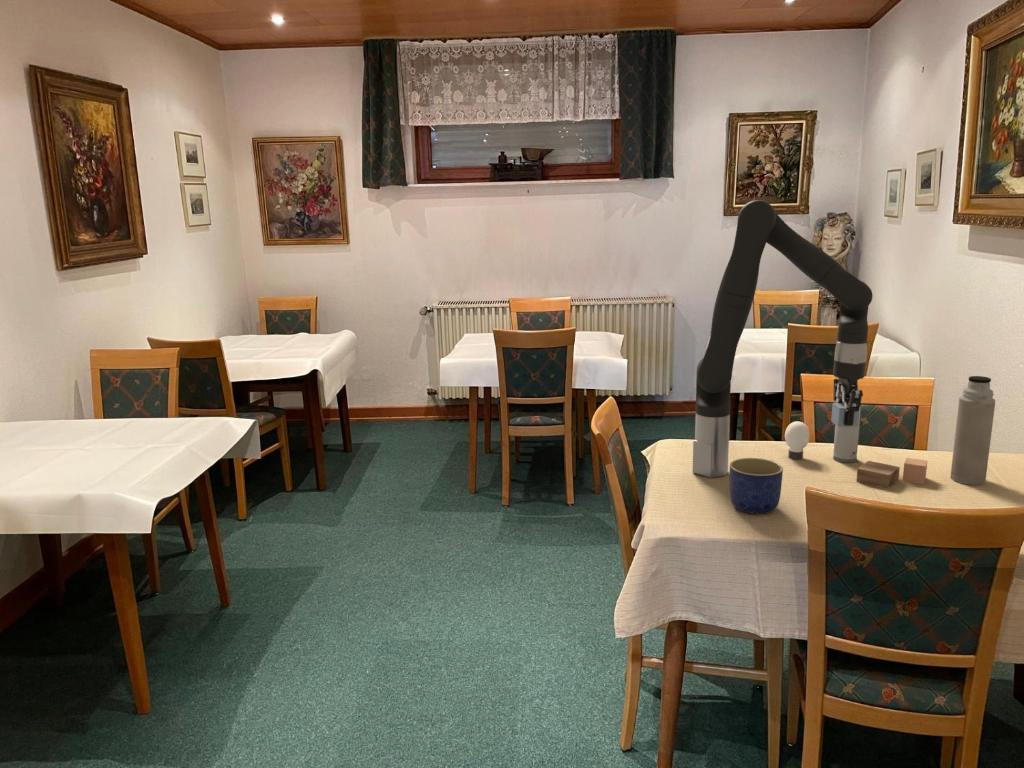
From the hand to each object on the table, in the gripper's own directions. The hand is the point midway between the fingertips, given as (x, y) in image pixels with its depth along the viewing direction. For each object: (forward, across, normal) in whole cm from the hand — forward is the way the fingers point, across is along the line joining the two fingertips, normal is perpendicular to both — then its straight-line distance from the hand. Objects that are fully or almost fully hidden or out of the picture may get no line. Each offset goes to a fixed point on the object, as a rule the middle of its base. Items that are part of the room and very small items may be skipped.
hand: (844, 421), depth 193 cm
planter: (+17, +17, -26) cm, 36 cm away
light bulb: (+17, -20, -5) cm, 27 cm away
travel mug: (+17, -18, +8) cm, 26 cm away
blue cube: (+1, 0, 0) cm, 1 cm away
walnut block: (+17, 0, +10) cm, 20 cm away
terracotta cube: (+17, -1, +20) cm, 26 cm away
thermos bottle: (+16, -1, +34) cm, 37 cm away
